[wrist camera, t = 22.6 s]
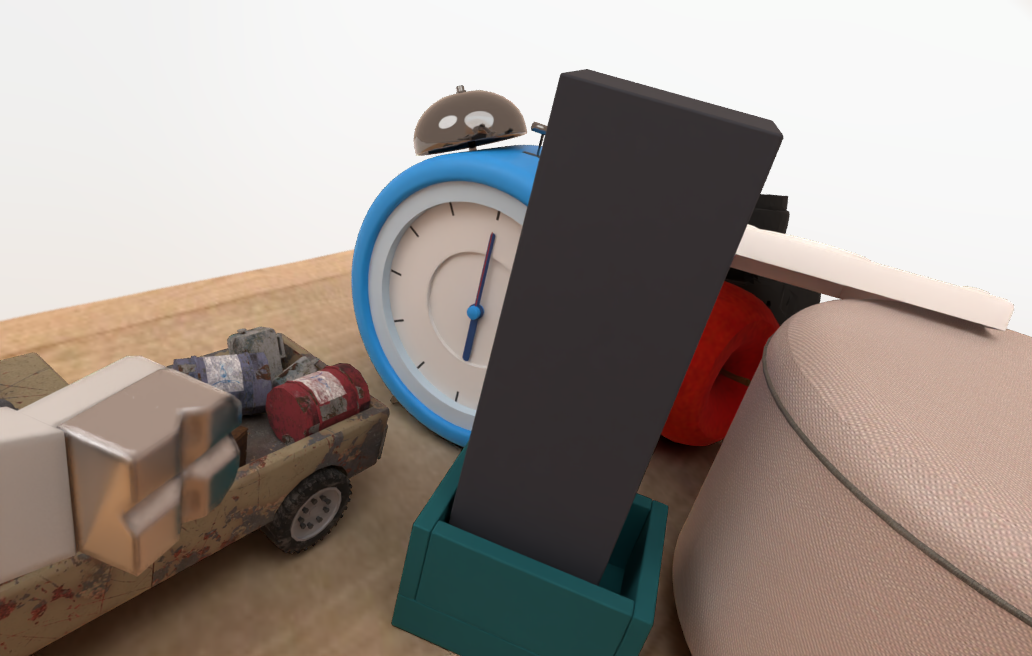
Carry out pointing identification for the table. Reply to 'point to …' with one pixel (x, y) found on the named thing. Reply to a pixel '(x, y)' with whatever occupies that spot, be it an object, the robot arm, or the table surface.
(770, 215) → the film camera
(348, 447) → the toy vehicle
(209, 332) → the table surface
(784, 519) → the container
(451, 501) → the teal storage bin
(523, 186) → the alarm clock
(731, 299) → the apple
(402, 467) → the table surface
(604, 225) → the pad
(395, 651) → the table surface
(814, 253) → the light switch
